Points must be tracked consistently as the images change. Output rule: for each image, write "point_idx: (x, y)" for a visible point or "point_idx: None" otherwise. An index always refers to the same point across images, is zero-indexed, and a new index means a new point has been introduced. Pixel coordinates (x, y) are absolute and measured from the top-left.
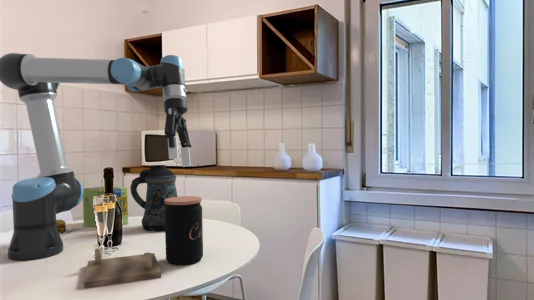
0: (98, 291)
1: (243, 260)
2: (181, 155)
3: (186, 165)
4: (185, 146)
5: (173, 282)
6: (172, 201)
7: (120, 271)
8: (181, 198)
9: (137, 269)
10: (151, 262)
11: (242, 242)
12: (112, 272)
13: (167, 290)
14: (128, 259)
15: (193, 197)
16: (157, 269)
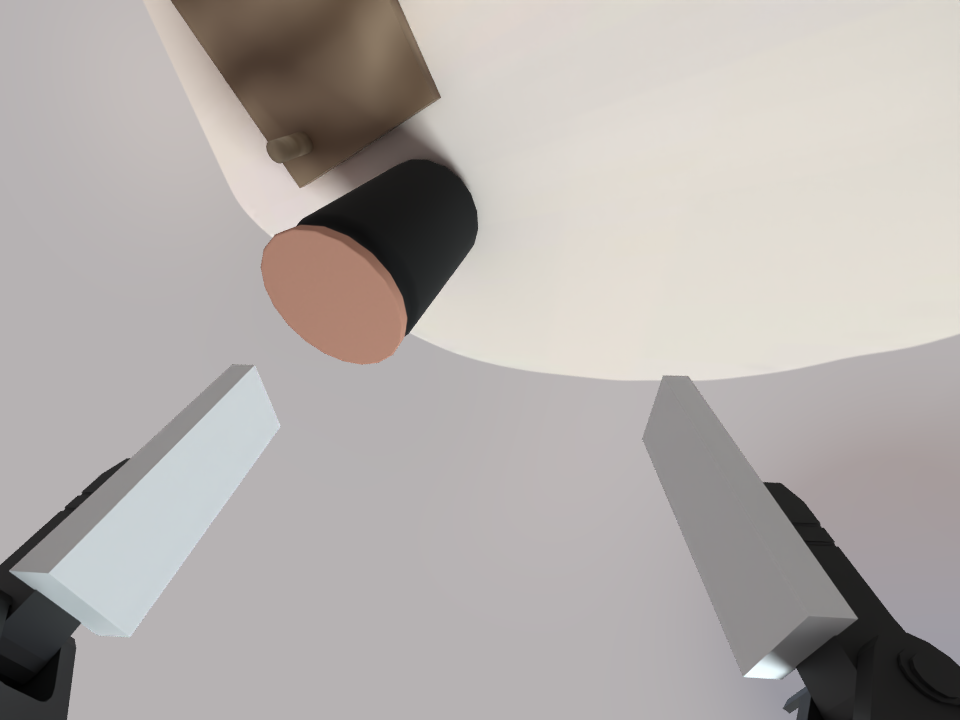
0: (182, 43)
1: (447, 344)
2: (723, 481)
3: (651, 415)
4: (826, 689)
5: (297, 220)
6: (264, 275)
7: (256, 57)
8: (336, 298)
9: (288, 110)
10: (347, 132)
11: (604, 352)
12: (239, 31)
13: (262, 218)
14: (350, 17)
15: (371, 339)
16: (307, 173)
